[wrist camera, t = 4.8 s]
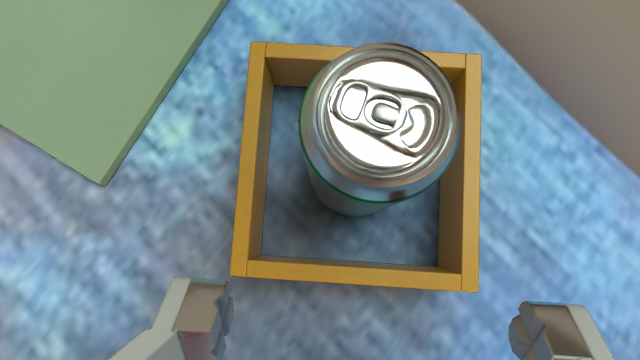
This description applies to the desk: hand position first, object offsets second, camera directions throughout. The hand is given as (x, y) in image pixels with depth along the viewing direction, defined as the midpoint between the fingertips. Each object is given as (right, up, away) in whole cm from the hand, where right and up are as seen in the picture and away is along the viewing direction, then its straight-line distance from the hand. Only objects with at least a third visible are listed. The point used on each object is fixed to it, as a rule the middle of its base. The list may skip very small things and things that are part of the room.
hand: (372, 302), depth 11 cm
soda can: (0, +4, +12) cm, 13 cm away
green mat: (-15, +15, +14) cm, 25 cm away
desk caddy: (0, +4, +12) cm, 13 cm away
